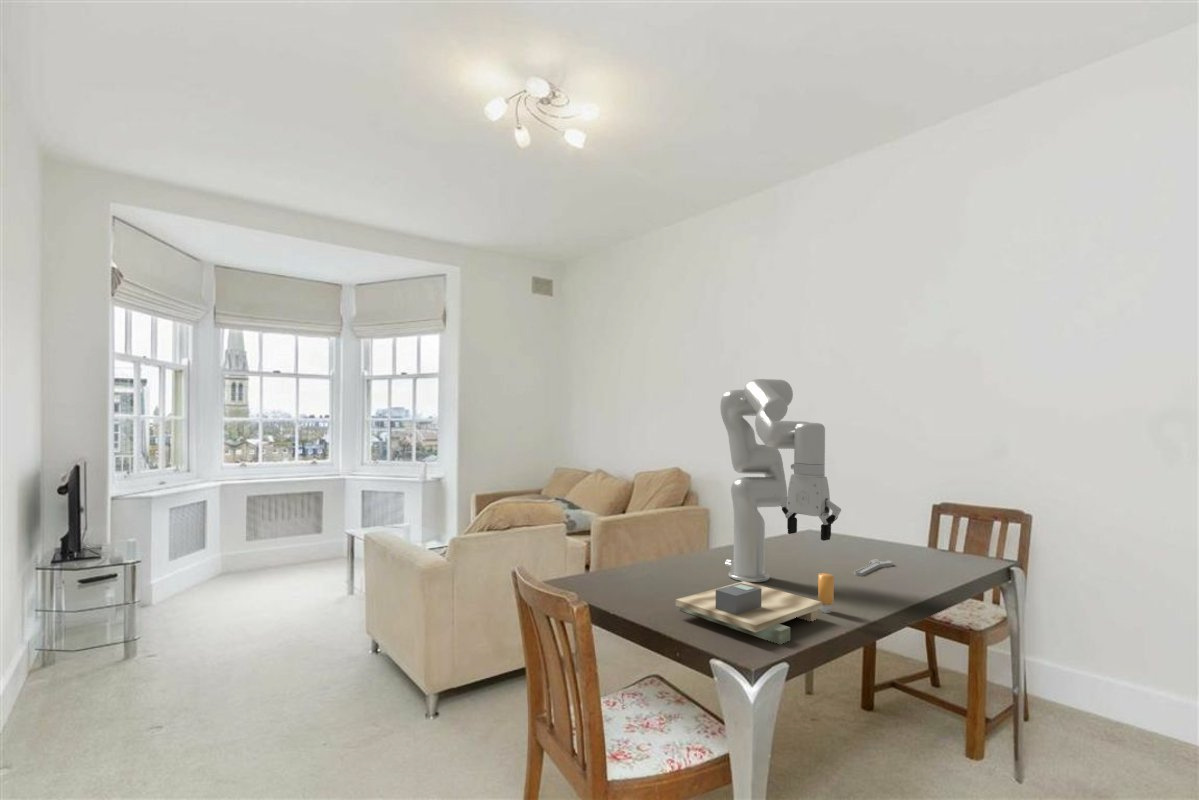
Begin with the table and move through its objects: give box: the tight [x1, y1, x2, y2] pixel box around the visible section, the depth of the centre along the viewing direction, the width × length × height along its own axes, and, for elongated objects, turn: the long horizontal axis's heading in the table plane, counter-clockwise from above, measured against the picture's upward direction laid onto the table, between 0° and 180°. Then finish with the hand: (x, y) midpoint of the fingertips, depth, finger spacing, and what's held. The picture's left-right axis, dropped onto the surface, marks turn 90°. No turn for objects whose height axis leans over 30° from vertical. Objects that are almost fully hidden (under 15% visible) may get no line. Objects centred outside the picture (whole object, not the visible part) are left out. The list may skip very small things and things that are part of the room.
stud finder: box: [716, 582, 762, 615], centre depth 146 cm, size 6×10×5 cm, turn 130°
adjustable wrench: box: [853, 558, 893, 577], centre depth 205 cm, size 25×6×2 cm, turn 131°
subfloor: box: [675, 581, 822, 646], centre depth 152 cm, size 30×28×4 cm
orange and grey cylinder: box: [817, 572, 835, 614], centre depth 159 cm, size 4×4×10 cm
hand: (808, 536), depth 157 cm, fingers open, 9 cm apart
